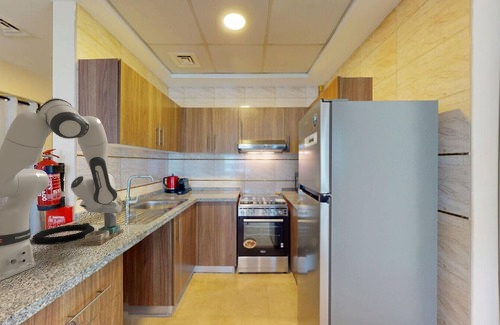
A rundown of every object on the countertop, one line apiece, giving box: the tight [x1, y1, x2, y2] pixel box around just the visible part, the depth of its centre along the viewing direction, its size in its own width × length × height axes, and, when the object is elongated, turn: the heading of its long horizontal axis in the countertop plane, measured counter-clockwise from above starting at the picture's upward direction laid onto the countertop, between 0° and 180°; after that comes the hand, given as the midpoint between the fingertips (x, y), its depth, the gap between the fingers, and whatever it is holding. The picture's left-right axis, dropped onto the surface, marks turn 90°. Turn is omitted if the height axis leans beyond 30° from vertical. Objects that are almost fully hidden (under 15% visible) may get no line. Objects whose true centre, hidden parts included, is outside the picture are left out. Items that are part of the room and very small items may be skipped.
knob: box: [103, 213, 117, 227], centre depth 134 cm, size 4×4×10 cm
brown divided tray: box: [80, 224, 124, 246], centre depth 129 cm, size 22×10×4 cm, turn 2°
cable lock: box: [31, 222, 95, 245], centre depth 134 cm, size 28×4×30 cm
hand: (110, 215), depth 135 cm, fingers closed on knob, 4 cm apart
